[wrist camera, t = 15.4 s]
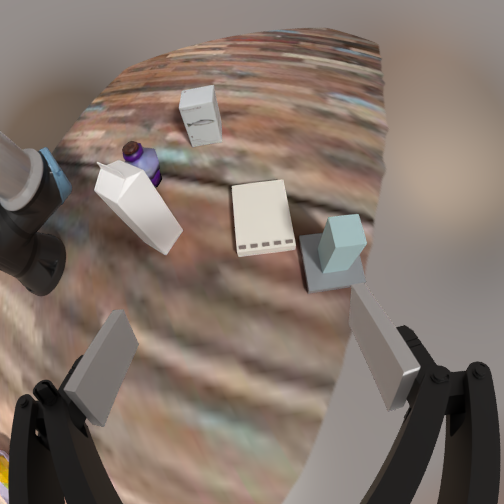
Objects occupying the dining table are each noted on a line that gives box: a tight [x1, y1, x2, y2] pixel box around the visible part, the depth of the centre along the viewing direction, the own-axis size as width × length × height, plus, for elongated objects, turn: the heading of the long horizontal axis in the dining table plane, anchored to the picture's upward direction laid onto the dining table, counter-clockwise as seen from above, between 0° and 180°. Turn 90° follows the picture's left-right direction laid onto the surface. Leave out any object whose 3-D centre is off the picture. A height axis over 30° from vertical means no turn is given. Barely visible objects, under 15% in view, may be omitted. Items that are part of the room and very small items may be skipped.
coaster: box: [299, 233, 366, 294], centre depth 45 cm, size 10×10×2 cm
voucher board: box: [232, 179, 296, 257], centre depth 49 cm, size 14×10×2 cm
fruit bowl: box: [0, 450, 9, 504], centre depth 22 cm, size 28×27×11 cm
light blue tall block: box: [318, 214, 367, 274], centre depth 40 cm, size 5×4×11 cm
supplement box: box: [179, 85, 222, 147], centre depth 55 cm, size 7×7×13 cm
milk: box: [94, 160, 183, 255], centre depth 41 cm, size 6×6×22 cm
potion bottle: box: [122, 141, 162, 188], centre depth 51 cm, size 9×9×12 cm
